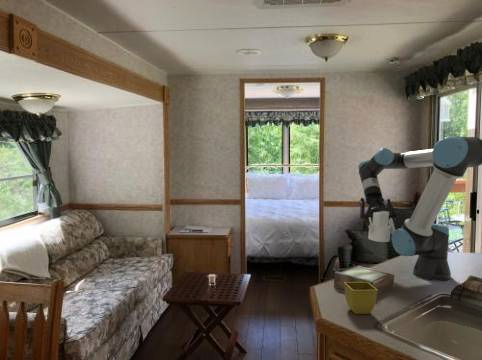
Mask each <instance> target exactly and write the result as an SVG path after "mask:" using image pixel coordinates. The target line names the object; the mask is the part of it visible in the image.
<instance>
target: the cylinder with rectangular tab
mask: <svg viewBox="0 0 482 360" xmlns="http://www.w3.org/2000/svg"><path fill="white" fill-rule="evenodd" d="M388 221H389V212H387V211H382V210H380V211H376V212H373V214H372V225H373V229H374V231H373V232H372V233H370V231H369V230H368V236H367V238H368V240H370V241H373V242H377V243H389V242H390V241H391V227H390V226H389V223H388Z"/></svg>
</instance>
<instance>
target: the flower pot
mask: <svg viewBox="0 0 482 360" xmlns="http://www.w3.org/2000/svg"><path fill="white" fill-rule="evenodd" d="M344 286H345V290H344V295H345V296H344V297H345V300H346V303H347V305H348V308H349V309H350V310H351V311H352V313H354V314H355V315H369V314H370V313H371V312H372V311H373V309H374V308H375V306H376V303H377V296H378V295H377V292H378V290H377V289H376V288H375V287H373V286H372V285H371V284H370V283H369V282H344Z"/></svg>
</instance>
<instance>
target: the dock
mask: <svg viewBox="0 0 482 360" xmlns="http://www.w3.org/2000/svg"><path fill="white" fill-rule="evenodd" d="M333 273H334V277H333V287H334V288H336V289H340V290H344V291H345V286H344V282H369V283H370V284H371V285H372V286H373V287H375V288H376V289H377V290H378V292H377V296H378V295H380V294H383V293H384V292H386V291H388V290H390V289H393V288H394V287H395V274H394V273H393V274H392V273H389V272H385V271H381V270H378V269H373V268H369V267H364V266H361V265H358V266H357V265H356V266H355V267H352V268H349V269H346V270H343V271H334V272H333Z"/></svg>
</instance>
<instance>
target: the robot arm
mask: <svg viewBox="0 0 482 360" xmlns="http://www.w3.org/2000/svg"><path fill="white" fill-rule="evenodd" d="M480 166H482V138H479V137H476V136H475V137H474V136H459V135H451V136H445V137H442V138H440V139H439V140H438V141H437V142H436V143H435V144H434V146H433V148H429V149H422V150H421V149H420V150H414V151H413V150H412V151H405V152H393V151H392V150H391V149H388V148H387V147H382V148H380V149H379V150H378V151H376V152H375V154H374V155H373V156H372V157H371V158H370V159H369V160H368V159H366V160H363V161H361V162H359V164H358V174H359V178H360V182H361V186H362V189H363V194H364V197H365V198H364V197H361V198H360V199H359V205H360V209H359V210H360V211H359V219H362V220H363V222H365V225H366V227H368V232H369V231H370V233H372V232H373V231H374V229H373V225H372V223H373V220H372V218H371V217H370V214H371V211H372V208H373V209H375V208H377V209H379V210H380V211H387V212H389V219H388V226H390V227H391V232H390V235H391V244H392V247H393V248H394V250H395V251H396V253H397V254H399V255H400V256H403V257H414V256H417V259H416V260H415V264H414V265H413V268H412V270H413V271H412V273H413V275H414V276H415V277H418V278H421V279H424V280H429V281H440V282H441V281H443V282H444V281H448V280H451V279H452V277H451V275H452V273H451V268H450V265H449V262H448V256H449V254H448V253H449V240H450V228H449V227H448V226H447V225H443V224H438V223H435V221H436V219H437V217H438V215H439V213H440V212H441V209H442V207H443V205H444V204H445V203H446V200H447V199H448V196H449V194H450V192H451V191H452V188H453V187H454V185H455V183H456V181H457V179H460V178H463V177H464V175H465V173H467V169H468V168H476V167H480ZM425 167H433V168H434V170H433V171H432V174H431V176H430V178H429V180H428V182H427V183H426V186H425V187H424V190H423V192H422V194H421V196H420V198H419V199H418V201H417V204H416V206H415V209H414V211H413V213H412V215H411V217H410V218H407V219H405V220H404V222H403V223H402V226H401V227H400V228H397V229H396V227H395V226H396V219H397V218H398V213H397V212H396V210H395V208H394V206H393V204H392V203H391V199H390V198H387V199H384V197H383V193H382V190H381V185H380V183H379V178H378V175H380V174H381V173H382V172H383V170H407V169H412V168H425ZM366 204H367V205H368V206H367V210H365V206H366ZM365 211H366V212H365Z"/></svg>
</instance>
